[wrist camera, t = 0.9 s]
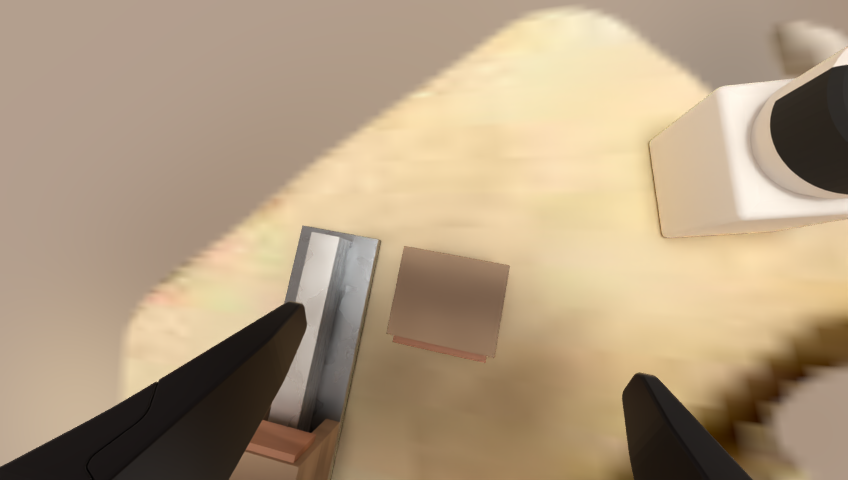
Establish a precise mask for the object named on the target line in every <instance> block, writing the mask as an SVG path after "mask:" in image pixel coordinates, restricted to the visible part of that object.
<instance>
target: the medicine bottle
mask: <svg viewBox="0 0 848 480" xmlns="http://www.w3.org/2000/svg"><path fill="white" fill-rule="evenodd" d="M649 146H650V153H651V160H652V167H653V174H654V182H655V189H656V196H657V203H658V210H659V217H660V224H661V231H662V235H663V236H664V237H667V238H676V237H693V236H710V235H726V234H743V233H760V232H774V231H780V230H786V229H792V228H798V227H804V226H810V225H815V224H821V223H827V222H833V221H839V220H845V219H848V46H847V47H846V48H844V49H842V50H841V51H839V52H838V53H836V54H834V55H833V56H831V57H829V58H828V59H826V60H825V61H823V62H821V63H820V64H818V65H817V66H815V67H813V68H812V69H810V70H809V71H807V72H805V73H804V74H802V75H801V76H799V77H797V78H796V79H786V80H777V81H767V82H757V83H747V84H738V85H728V86H722V87H720V88H717V89H716V90H715V91H713V92H712V93H711V94H710V95H708V96H707V97H706V98H704V99H703V100H702V101H700V102H699V103H698V104H697V105H695V106H694V107H693V108H691V109H690V110H689V111H688V112H686V113H685V114H684V115H682V116H681V117H680V118H679V119H677V120H676V121H675V122H673V123H672V124H671V125H670V126H668V127H667V128H666V129H664V130H663V131H662V132H661V133H659V134H658V135H657V136H655V137H654V138H653V139H652V140H651V141H650V143H649Z"/></svg>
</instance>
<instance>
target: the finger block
mask: <svg viewBox="0 0 848 480" xmlns="http://www.w3.org/2000/svg"><path fill="white" fill-rule="evenodd" d="M509 268H510V266H509V265H504V264H499V263H493V262H488V261H482V260H477V259H472V258H466V257H461V256H455V255H450V254H445V253H439V252H434V251H429V250H423V249H418V248H412V247H407V246H404V249H403V254H402V259H401V264H400V269H399V274H398V279H397V284H396V289H395V294H394V299H393V304H392V309H391V314H390V319H389V324H388V328H387V333H386V334H390V335H394V338H393V342H396V343H400V344H405V345H409V346H413V347H418V348H422V349H427V350H431V351H435V352H440V353H444V354H449V355H453V356H458V357H462V358H466V359H471V360H475V361H480V362H484V363H485V362H486V356H489V357H493V358H494V357H495V351H496V345H497V339H498V333H499V327H500V321H501V315H502V309H503V303H504V297H505V292H506V286H507V280H508V274H509Z"/></svg>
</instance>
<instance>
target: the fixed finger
mask: <svg viewBox="0 0 848 480" xmlns="http://www.w3.org/2000/svg"><path fill="white" fill-rule="evenodd" d="M271 405H272V404H271ZM270 410H271V406H270V407H269V409H268V411H267V413H266V414H265V416H264V418H263V420H262V422H261V423H260V425H259V427H258V429H257V431H256V432H255V434H254V436H253V438H252V439H251V441H250V443H249V445H248V447H247V448H246V450H245V452H244V454H243V455H242V457H241V459H240V461H239V463H238V464H237V466H236V468H235V470H234V472H233V473H232V475H231V477H230V479H229V480H328V475H329V471H330V466H331V461H332V456H333V452H334V447H335V442H336V437H337V433H338V428H339V423H340V422H337V421H334V420H330V419H325V420H324V421H323V422H322V423H321V424H320V425H319V426H318V427H317V428H316V429H315V430H314V431H313V432H312V433H309V432H305V431H302V430H298V429H294V428H291V427H287V426H283V425H280V424H276V423H272V422H269V421H268V418H269V414H270Z"/></svg>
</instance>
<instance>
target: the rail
mask: <svg viewBox="0 0 848 480" xmlns="http://www.w3.org/2000/svg"><path fill="white" fill-rule="evenodd" d="M380 243H381V241H380V240H377V239H372V238H367V237H361V236H356V235H350V234H345V233H340V232H334V231H329V230H323V229H318V228H313V227H307V226H302V230H301V235H300V239H299V243H298V247H297V252H296V256H295V260H294V264H293V269H292V273H291V277H290V281H289V286H288V290H287V294H286V298H285V303H286V302H289V301H293V302H298V303H302V304H303V305H304V307H305V313H306V319H307V328H306V332H305V334H304V336H303V339H302V341H301V343H300V346H299V348H298V350H297V353H296V355H295V357H294V360H293V362H292V364H291V367H290V369H289V371H288V374H287V376H286V378H285V380H284V382H283V384H282V386H281V388H280V390H279V391H278V393H277V395H276V397H275V398H274V400H273V402H272V405H271V410H270V414H269V418H268V421H269V422H272V423H276V424H280V425H283V426H287V427H291V428H294V429H298V430H302V431H305V432H309V433H312V432H313V431H314V430H315V429H316V428H317V427H318V426H319V425H320V424H321V423H322V422H323V421H324V420H325V419H330V420H334V421H337V422H340V423H339V428H338V433H337V437H336V442H335V447H334V452H333V456H332V461H331V466H330V471H329V475H328V480H331V476H332V471H333V466H334V462H335V457H336V452H337V447H338V443H339V438H340V433H341V428H342V424H343V419H344V414H345V409H346V405H347V400H348V395H349V390H350V385H351V381H352V376H353V371H354V366H355V362H356V357H357V352H358V347H359V343H360V338H361V333H362V328H363V324H364V319H365V314H366V309H367V305H368V300H369V295H370V290H371V286H372V281H373V276H374V271H375V267H376V262H377V257H378V252H379V247H380ZM285 303H284V304H285Z"/></svg>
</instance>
